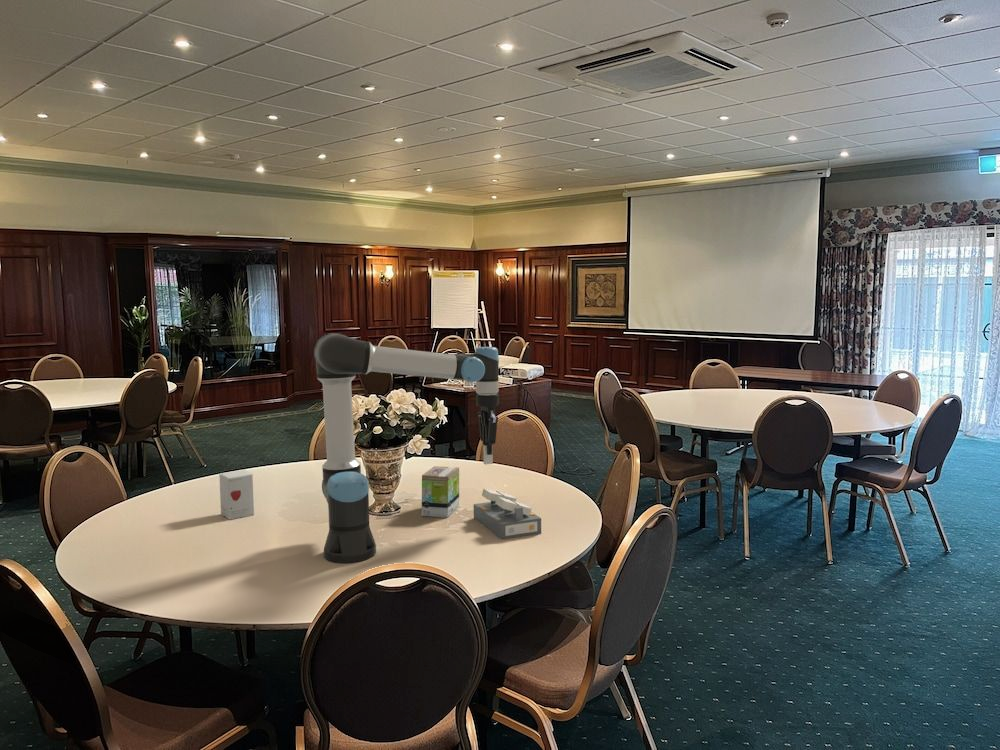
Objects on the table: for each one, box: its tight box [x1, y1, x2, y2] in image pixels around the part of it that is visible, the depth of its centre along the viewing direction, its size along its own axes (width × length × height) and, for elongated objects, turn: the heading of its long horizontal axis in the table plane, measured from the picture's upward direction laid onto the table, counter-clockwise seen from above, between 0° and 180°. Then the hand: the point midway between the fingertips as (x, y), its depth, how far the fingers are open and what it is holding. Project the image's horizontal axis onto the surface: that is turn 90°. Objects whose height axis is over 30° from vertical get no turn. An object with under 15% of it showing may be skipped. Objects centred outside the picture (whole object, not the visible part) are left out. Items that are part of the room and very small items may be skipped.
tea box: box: [421, 465, 460, 518], centre depth 247 cm, size 15×10×15 cm, turn 168°
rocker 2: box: [495, 497, 533, 516], centre depth 224 cm, size 10×6×3 cm, turn 113°
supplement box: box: [218, 469, 255, 520], centre depth 245 cm, size 9×9×15 cm
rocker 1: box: [481, 488, 517, 502], centre depth 235 cm, size 10×6×2 cm, turn 113°
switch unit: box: [473, 498, 542, 540], centre depth 230 cm, size 14×24×9 cm, turn 23°
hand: (488, 463), depth 232 cm, fingers closed
